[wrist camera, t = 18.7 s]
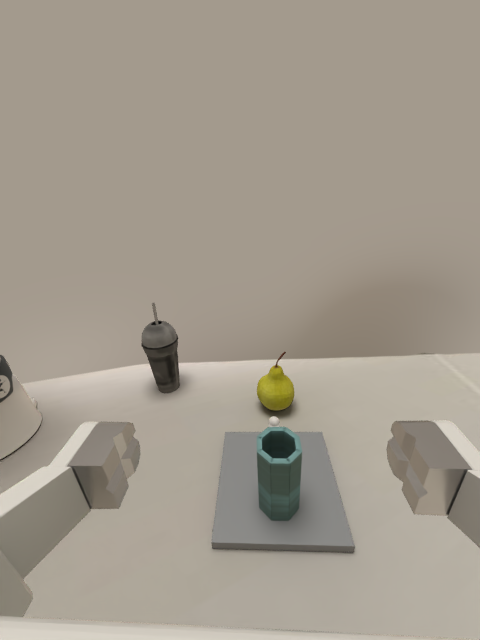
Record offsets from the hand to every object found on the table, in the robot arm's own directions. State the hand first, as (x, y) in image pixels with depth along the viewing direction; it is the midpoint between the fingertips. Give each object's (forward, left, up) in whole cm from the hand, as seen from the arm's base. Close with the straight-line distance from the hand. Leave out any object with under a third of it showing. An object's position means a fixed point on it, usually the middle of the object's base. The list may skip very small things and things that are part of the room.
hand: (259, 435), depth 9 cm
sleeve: (+2, +16, -29) cm, 33 cm away
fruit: (+3, +35, -30) cm, 46 cm away
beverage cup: (-20, +41, -30) cm, 55 cm away
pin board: (+2, +19, -30) cm, 36 cm away
